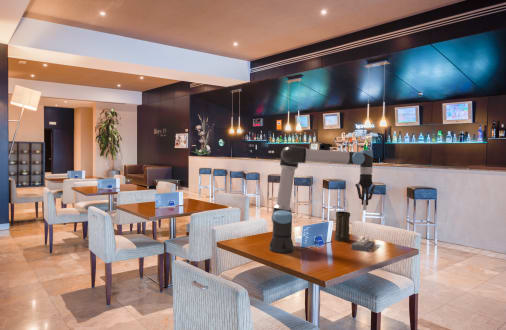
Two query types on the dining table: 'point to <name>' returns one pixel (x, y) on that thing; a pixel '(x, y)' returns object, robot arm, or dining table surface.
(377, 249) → the dining table surface
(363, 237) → the tile
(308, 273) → the dining table surface
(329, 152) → the robot arm
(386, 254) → the dining table surface
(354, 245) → the grey dice tray
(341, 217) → the beer stein
